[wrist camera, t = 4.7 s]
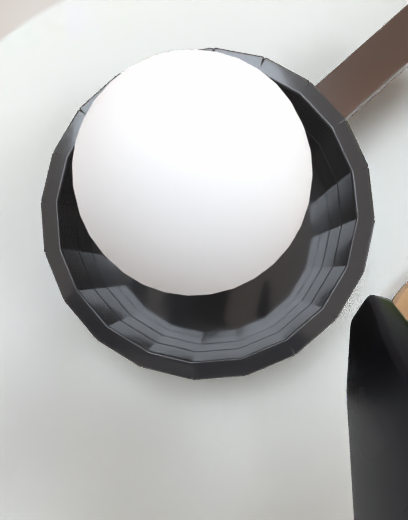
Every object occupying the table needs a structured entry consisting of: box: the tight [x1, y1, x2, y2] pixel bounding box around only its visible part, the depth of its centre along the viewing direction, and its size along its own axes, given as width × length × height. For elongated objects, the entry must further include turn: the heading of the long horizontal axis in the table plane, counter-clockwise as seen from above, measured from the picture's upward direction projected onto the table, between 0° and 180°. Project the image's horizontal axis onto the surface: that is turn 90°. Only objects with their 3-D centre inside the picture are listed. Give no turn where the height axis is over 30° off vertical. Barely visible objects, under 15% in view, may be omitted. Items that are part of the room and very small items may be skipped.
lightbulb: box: [72, 49, 312, 296], centre depth 12 cm, size 6×6×11 cm
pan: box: [41, 48, 375, 380], centre depth 16 cm, size 13×13×4 cm
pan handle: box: [315, 5, 408, 120], centre depth 15 cm, size 2×6×1 cm, turn 131°
